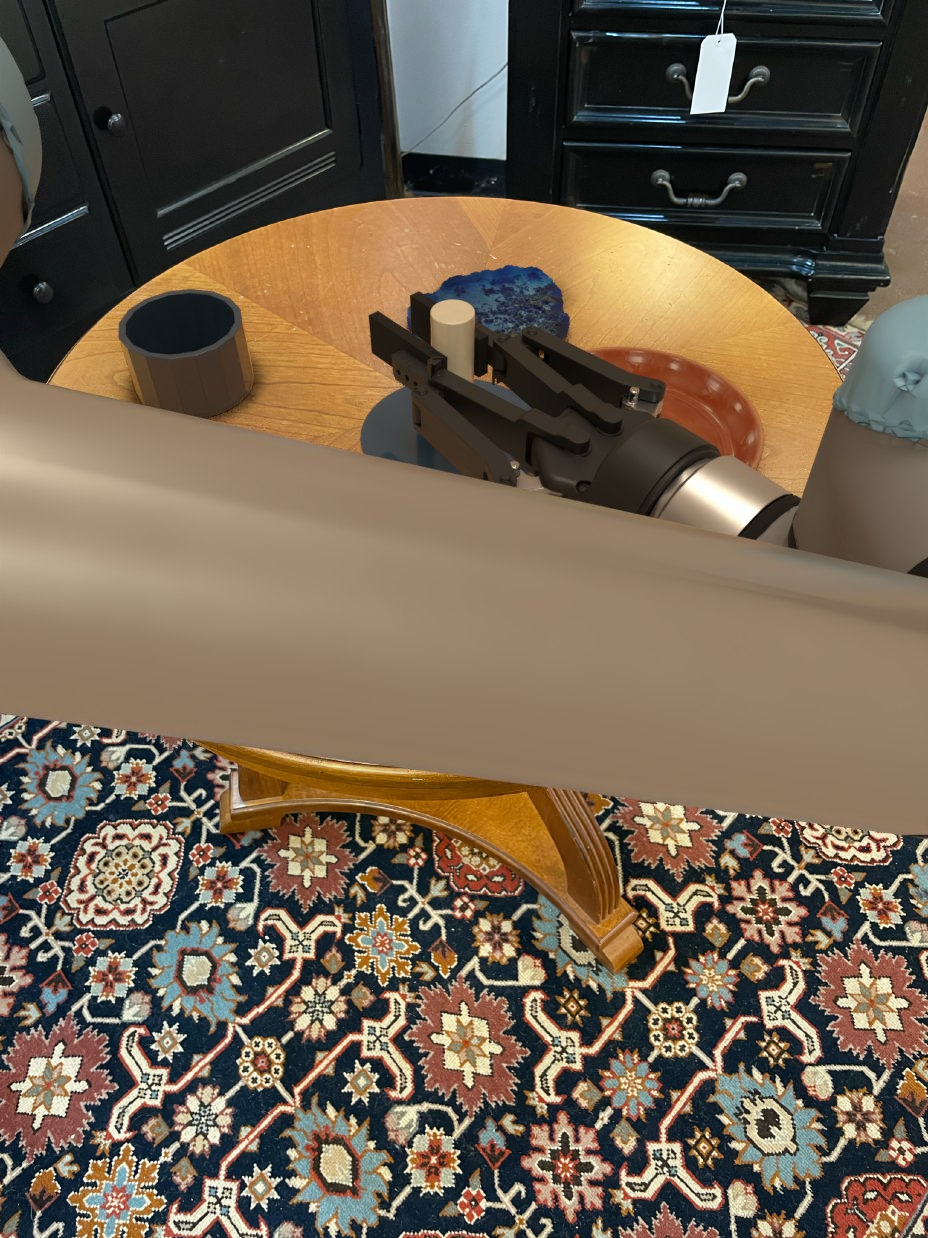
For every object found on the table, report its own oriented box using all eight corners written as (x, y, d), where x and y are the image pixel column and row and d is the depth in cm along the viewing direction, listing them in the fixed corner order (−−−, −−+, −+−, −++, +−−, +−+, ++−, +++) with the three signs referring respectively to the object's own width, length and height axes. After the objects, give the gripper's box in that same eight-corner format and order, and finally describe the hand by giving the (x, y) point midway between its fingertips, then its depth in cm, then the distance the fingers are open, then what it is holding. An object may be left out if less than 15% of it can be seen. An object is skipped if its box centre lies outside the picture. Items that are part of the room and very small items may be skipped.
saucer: (802, 446, 89) (813, 414, 86) (661, 580, 78) (669, 549, 75) (605, 349, 99) (609, 317, 96) (456, 457, 88) (456, 425, 85)
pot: (137, 427, 91) (117, 365, 86) (138, 357, 98) (119, 296, 93) (258, 411, 92) (245, 349, 87) (250, 344, 100) (237, 282, 94)
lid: (376, 524, 59) (363, 387, 51) (350, 403, 66) (335, 267, 58) (567, 496, 60) (583, 359, 52) (520, 381, 68) (528, 246, 60)
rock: (573, 352, 98) (575, 335, 97) (408, 358, 98) (406, 341, 96) (558, 277, 108) (559, 261, 106) (407, 283, 108) (406, 267, 106)
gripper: (571, 638, 49) (302, 421, 60) (757, 498, 56) (484, 326, 67) (585, 535, 43) (285, 316, 54) (792, 392, 50) (486, 223, 61)
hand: (395, 322), depth 61 cm, fingers closed on lid, 3 cm apart
